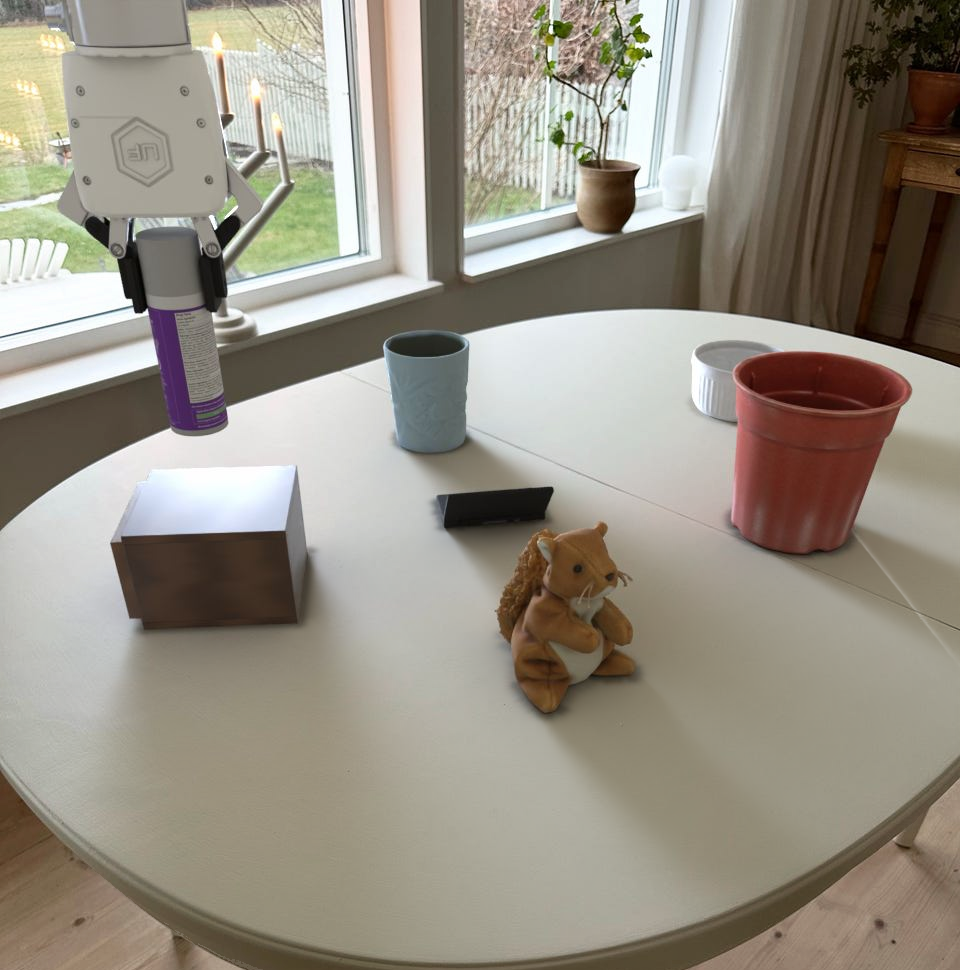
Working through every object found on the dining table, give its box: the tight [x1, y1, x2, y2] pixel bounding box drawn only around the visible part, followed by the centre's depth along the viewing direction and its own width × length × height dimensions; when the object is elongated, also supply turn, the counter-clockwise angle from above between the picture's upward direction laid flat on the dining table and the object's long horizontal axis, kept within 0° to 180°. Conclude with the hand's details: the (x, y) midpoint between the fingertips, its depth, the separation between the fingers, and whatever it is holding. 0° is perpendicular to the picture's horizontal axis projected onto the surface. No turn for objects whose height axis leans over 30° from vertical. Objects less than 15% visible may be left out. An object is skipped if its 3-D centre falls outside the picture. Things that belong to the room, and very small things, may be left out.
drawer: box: [109, 481, 146, 620], centre depth 87 cm, size 14×11×8 cm
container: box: [134, 225, 229, 437], centre depth 75 cm, size 5×5×15 cm
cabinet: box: [121, 464, 308, 631], centre depth 88 cm, size 14×13×10 cm
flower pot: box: [730, 350, 913, 555], centre depth 96 cm, size 16×16×16 cm
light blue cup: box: [382, 329, 470, 454], centre depth 115 cm, size 10×10×12 cm
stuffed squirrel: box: [494, 520, 636, 714], centre depth 78 cm, size 10×14×13 cm
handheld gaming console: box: [436, 486, 555, 529], centre depth 100 cm, size 12×7×10 cm
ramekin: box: [691, 339, 787, 423], centre depth 125 cm, size 13×13×7 cm
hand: (179, 305), depth 73 cm, fingers closed on container, 4 cm apart
